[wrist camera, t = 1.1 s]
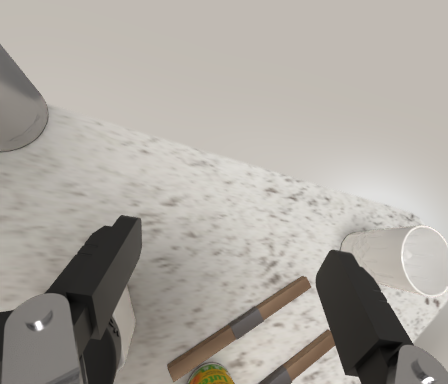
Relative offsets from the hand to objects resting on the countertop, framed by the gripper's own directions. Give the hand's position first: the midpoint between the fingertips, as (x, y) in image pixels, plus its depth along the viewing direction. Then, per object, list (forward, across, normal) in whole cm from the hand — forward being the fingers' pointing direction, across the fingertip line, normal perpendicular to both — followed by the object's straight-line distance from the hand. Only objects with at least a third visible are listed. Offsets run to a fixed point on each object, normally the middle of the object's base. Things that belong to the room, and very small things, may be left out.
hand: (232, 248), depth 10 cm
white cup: (+20, -22, +16) cm, 34 cm away
